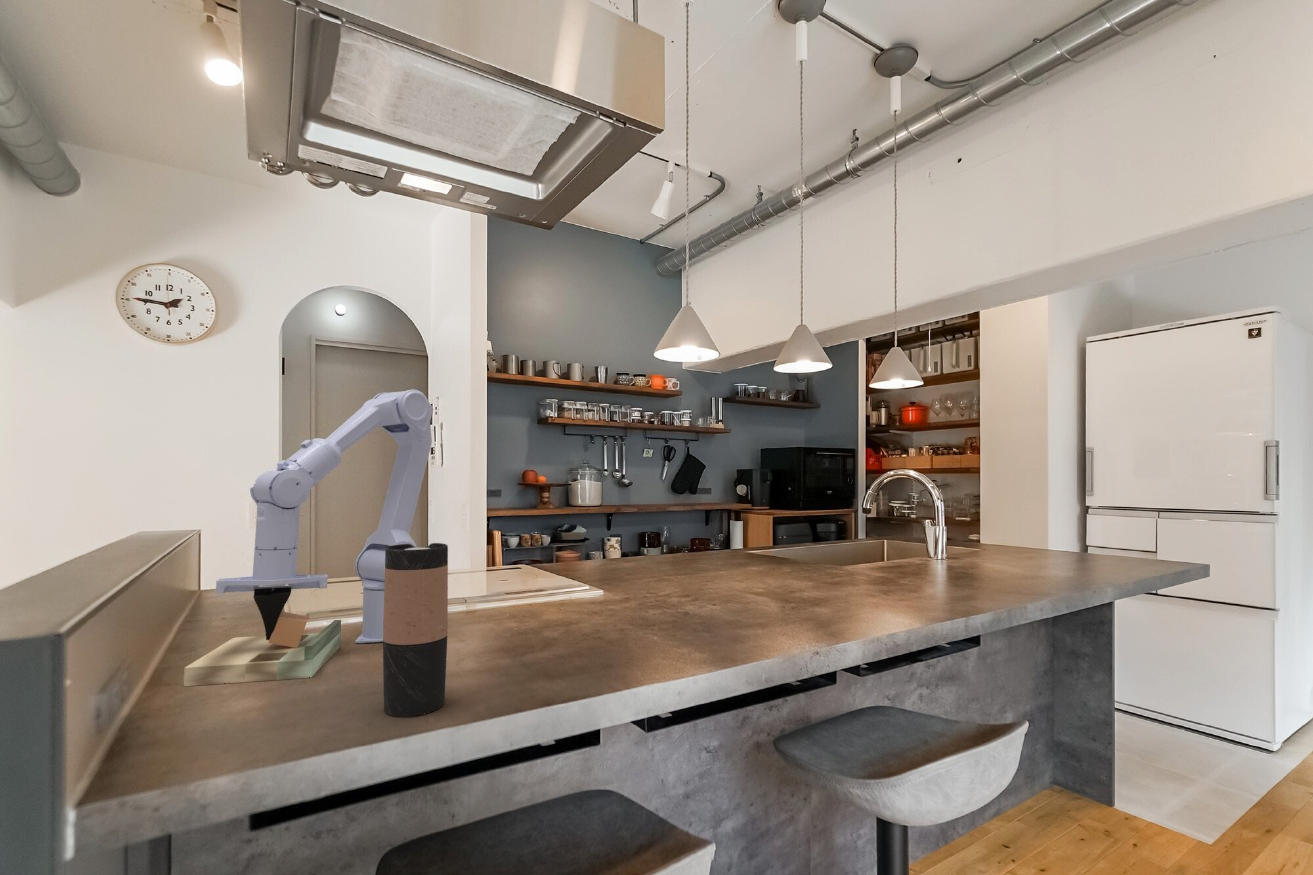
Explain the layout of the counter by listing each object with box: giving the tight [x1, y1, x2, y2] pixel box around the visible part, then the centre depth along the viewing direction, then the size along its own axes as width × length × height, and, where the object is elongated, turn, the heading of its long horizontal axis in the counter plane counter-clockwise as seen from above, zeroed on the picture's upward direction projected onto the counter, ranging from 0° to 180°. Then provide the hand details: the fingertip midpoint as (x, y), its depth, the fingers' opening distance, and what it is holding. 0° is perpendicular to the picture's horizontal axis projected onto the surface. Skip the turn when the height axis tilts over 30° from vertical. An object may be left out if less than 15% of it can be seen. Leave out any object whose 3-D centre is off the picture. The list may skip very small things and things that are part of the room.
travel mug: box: [382, 542, 449, 718], centre depth 80 cm, size 8×8×20 cm
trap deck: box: [183, 619, 342, 687], centre depth 97 cm, size 16×16×4 cm
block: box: [268, 610, 308, 648], centre depth 98 cm, size 4×4×4 cm
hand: (270, 638), depth 97 cm, fingers closed, pressing on block
